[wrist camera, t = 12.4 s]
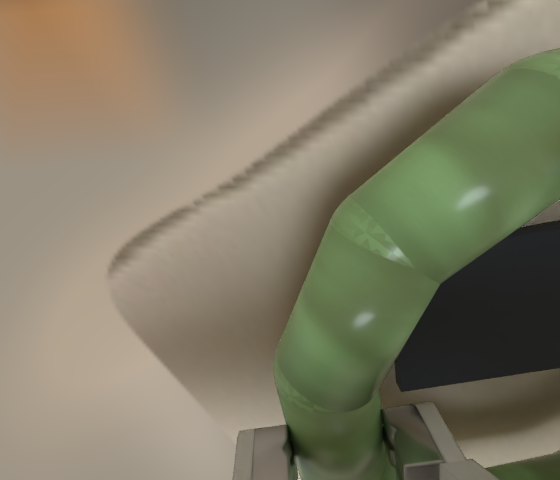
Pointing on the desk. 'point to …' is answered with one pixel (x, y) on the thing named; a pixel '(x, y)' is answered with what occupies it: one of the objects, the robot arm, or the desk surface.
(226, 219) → the desk surface
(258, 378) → the desk surface
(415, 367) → the mat
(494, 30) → the desk surface
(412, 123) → the desk surface
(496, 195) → the ring
